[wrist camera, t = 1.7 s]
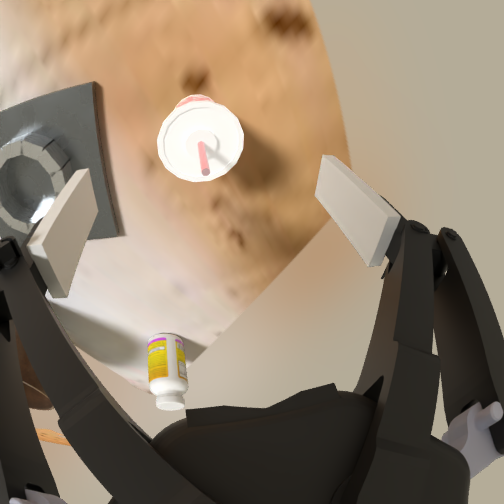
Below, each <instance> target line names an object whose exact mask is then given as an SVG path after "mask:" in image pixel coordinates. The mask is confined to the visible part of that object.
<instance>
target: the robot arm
mask: <svg viewBox="0 0 504 504" xmlns="http://www.w3.org/2000/svg"><path fill="white" fill-rule="evenodd" d="M315 197H316V198H317V199H318V200H319V202H320V203H321V204H322V205H323V207H324V208H325V209H326V211H327V212H328V213H329V214H330V216H331V217H332V218H333V220H334V221H335V222H336V223H337V225H338V226H339V228H340V229H341V230H342V231H343V233H344V234H345V235H346V237H347V238H348V240H349V241H350V242H351V244H352V245H353V246H354V248H355V249H356V251H357V252H358V253H359V255H360V256H361V258H362V259H363V260H364V262H365V263H366V265H367V266H368V267H373V266H380V265H381V264H382V261H383V259H384V257H385V255H386V256H387V258H388V259H389V263H388V265H387V267H386V269H385V271H384V273H383V276H382V277H381V279H383V278H384V277H385V278H384V284H383V289H382V294H381V299H380V304H379V308H378V313H377V317H376V321H375V325H374V329H373V334H372V337H371V341H370V345H369V348H368V352H367V355H366V359H365V362H364V366H363V369H362V372H361V375H360V378H359V381H358V384H357V386H356V388H355V389H354V391H353V392H348V391H337V389H336V386H335V384H334V383H331V384H327V385H324V386H320V387H316V388H312V389H308V390H305V391H301V392H299V393H297V394H295V395H293V396H291V397H289V398H287V399H285V400H283V401H281V402H279V403H277V404H275V405H273V406H270V407H268V408H247V407H234V406H216V407H208V408H198V409H187V410H186V418H184V419H182V420H179V421H177V422H175V423H172V424H171V425H169V426H168V427H166V428H164V429H163V430H162V431H161V432H159V433H158V434H157V435H156V436H155V437H154V438H153V439H152V438H150V437H149V436H148V435H147V434H146V433H145V432H144V431H143V430H142V429H141V428H140V427H139V426H138V425H137V424H136V423H135V422H134V421H133V420H132V419H131V418H130V416H129V415H128V414H127V413H126V412H125V411H124V410H123V409H122V408H121V406H120V405H119V404H118V403H117V402H116V401H115V399H114V398H113V397H112V396H111V395H110V393H109V392H108V391H107V390H106V388H105V387H104V386H103V385H102V384H101V382H100V381H99V379H98V378H97V377H96V376H95V374H94V373H93V371H92V370H91V369H90V367H89V366H88V365H87V363H86V362H85V360H84V359H83V358H82V356H81V355H80V353H79V352H78V350H77V349H76V347H75V346H74V344H73V343H72V341H71V340H70V338H69V336H68V335H67V333H66V332H65V330H64V328H63V327H62V325H61V323H60V322H59V320H58V318H57V317H56V315H55V313H54V311H53V310H52V308H51V306H50V304H49V302H48V301H47V299H46V297H45V294H46V291H47V289H48V291H49V292H50V294H51V296H52V298H67V297H68V293H69V290H70V287H71V283H72V280H73V277H74V274H75V271H76V268H77V265H78V262H79V259H80V256H81V254H82V251H83V248H84V246H85V243H86V240H87V238H88V235H89V233H90V230H91V228H92V225H93V223H94V220H95V218H96V216H97V213H98V208H97V204H96V199H95V195H94V191H93V186H92V182H91V177H90V172H89V168H87V169H81V170H77V171H76V172H75V173H74V175H73V176H72V177H71V179H70V180H69V181H68V183H67V184H66V185H65V187H64V188H63V189H62V191H61V192H60V194H59V195H58V196H57V198H56V199H55V201H54V202H53V204H52V205H51V207H50V208H49V210H48V211H47V213H46V214H45V216H44V217H41V218H40V219H39V220H38V221H37V222H36V223H35V224H34V226H33V227H32V229H31V232H29V234H28V236H27V238H26V239H25V241H24V242H23V244H22V246H21V248H20V247H19V245H18V243H17V241H16V238H15V237H14V236H7V237H4V238H2V239H1V240H0V504H67V503H66V502H65V501H64V500H63V499H61V498H60V495H59V493H58V490H57V487H56V484H55V481H54V478H53V476H52V473H51V471H50V468H49V465H48V463H47V460H46V458H45V455H44V453H43V450H42V448H41V445H40V442H39V439H38V436H37V433H36V430H35V427H34V424H33V420H32V417H31V414H30V410H29V406H28V402H27V398H26V394H25V390H24V385H23V381H22V376H21V370H20V365H19V358H18V352H17V344H16V336H15V327H16V330H17V332H18V335H19V337H20V340H21V342H22V345H23V347H24V349H25V352H26V354H27V356H28V358H29V361H30V363H31V365H32V367H33V369H34V371H35V373H36V375H37V377H38V379H39V381H40V383H41V385H42V387H43V389H44V391H45V392H46V394H47V396H48V398H49V400H50V401H51V403H52V405H53V406H54V408H55V410H56V411H57V413H58V415H59V418H60V419H59V420H58V425H59V427H60V429H61V430H62V432H63V434H64V436H65V437H66V439H67V440H68V442H69V443H70V444H71V446H72V447H73V448H74V450H75V451H76V453H77V454H78V456H79V457H80V458H81V460H82V461H83V462H84V463H85V465H86V466H87V467H88V469H89V470H90V471H91V472H92V473H93V475H94V476H95V477H96V478H97V479H98V480H99V482H100V483H101V484H102V485H103V486H104V487H105V489H106V490H107V491H108V492H109V493H110V494H111V495H112V496H113V497H112V499H111V500H110V502H109V503H108V504H468V495H469V486H470V479H471V478H473V477H474V476H475V475H477V474H478V473H479V472H480V471H482V470H483V469H484V468H486V467H487V466H488V465H490V464H491V463H492V462H493V461H494V460H496V459H498V458H500V457H502V456H504V338H503V335H502V332H501V329H500V326H499V323H498V320H497V317H496V314H495V312H494V309H493V306H492V304H491V301H490V299H489V296H488V293H487V291H486V289H485V287H484V284H483V282H482V279H481V278H480V275H479V273H478V271H477V268H476V267H475V264H474V262H473V260H472V258H471V256H470V254H469V252H468V250H467V248H466V246H465V244H464V242H463V241H462V239H461V237H460V236H459V235H458V234H457V233H456V231H453V229H449V228H445V227H443V228H441V230H440V232H439V234H438V235H433V234H430V232H429V230H428V229H427V227H425V226H424V225H423V224H421V223H419V222H417V221H414V220H408V221H407V220H406V219H405V218H404V217H403V216H402V215H401V214H400V213H399V212H398V211H397V210H396V209H394V207H393V206H392V205H391V204H389V202H388V201H387V200H386V199H385V198H383V197H382V196H380V195H379V194H377V193H376V192H375V191H374V190H373V189H372V188H371V187H370V186H369V185H367V184H366V183H365V182H364V181H363V180H362V179H361V178H360V177H359V176H357V175H356V174H355V173H354V172H353V171H352V170H351V169H349V168H348V167H347V166H346V165H345V164H343V163H342V162H341V161H340V160H339V159H337V158H336V157H335V156H333V155H322V160H321V165H320V171H319V176H318V181H317V187H316V192H315ZM446 271H447V273H446V275H445V272H446ZM14 324H15V325H14ZM433 328H434V333H435V339H436V345H437V351H438V356H437V355H434V354H432V343H433ZM440 372H441V381H442V389H443V390H442V391H443V401H444V410H445V414H446V420H447V424H448V431H447V432H446V433H444V434H443V436H442V441H441V440H439V439H437V438H436V437H434V436H432V435H431V431H432V426H433V420H434V414H435V409H436V402H437V395H438V387H439V378H440Z"/></svg>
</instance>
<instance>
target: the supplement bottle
mask: <svg viewBox="0 0 504 504" xmlns="http://www.w3.org/2000/svg"><path fill="white" fill-rule="evenodd" d="M148 373H149V388H150V390H151V392H152V393H153V394H155V395H157V398H156V406H157V407H158V408H159V409H162V410H179V409H182V408H184V407H185V403H184V399H183V397H182V395H183V394H185V393H186V391H187V390H188V380H187V372H186V363H185V354H184V345H183V341H182V340H181V339H180V338H179V337H178V336H176V335H173V334H166V333H163V334H157V335H154V336H153V337H151V338H150V339H149V341H148Z"/></svg>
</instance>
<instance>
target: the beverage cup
mask: <svg viewBox="0 0 504 504" xmlns="http://www.w3.org/2000/svg"><path fill="white" fill-rule="evenodd" d="M243 141H244V133H243V130H242V128H241V125H240V123H239V120H238V118H237V117H236V116H235V115H234V114H232V113H231V112H230V111H229V110H228V109H227V108H226V107H225V106H223V105H220V104H218V103H215V102H214V101H213V100H212V99H211V98H209V97H207V96H204V95H190V96H188V97H186V98H184V99H182V100H181V101H180V102H179V103H178V104H177V106H176V107H175V109H174V111H173V112H172V113H171V114H170V115H169V116H168V117H167V118H166V119H165V120H164V122H163V124H162V127H161V130H160V132H159V135H158V138H157V144H158V154H159V157H160V159H161V160H162V162H163V164H164V166H165V167H166V169H167V170H169V171H170V172H172V173H173V174H174V175H176V176H177V177H178V178H181V179H185V180H188V181H192V182H200V181H210V180H213V179H215V178H217V177H219V176H222V175H224V174H225V173H227V172H228V171H229V170H230V169H231V168H232V167H233V166H234V165H235V164H236V163H237V161H238V159H239V157H240V154H241V152H242V150H243Z"/></svg>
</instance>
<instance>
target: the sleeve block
mask: <svg viewBox="0 0 504 504" xmlns="http://www.w3.org/2000/svg"><path fill="white" fill-rule="evenodd" d="M87 168H89V172H90V177H91V182H92V186H93V191H94V195H95V199H96V204H97V208H98V213H97V216H96V218H95V220H94V223H93V225H92V228H91V230H90V233H89V235H88V238H87V240H91V239H100V238H109V237H118V233H119V230H118V226H117V222H116V218H115V214H114V210H113V205H112V201H111V196H110V191H109V186H108V181H107V176H106V171H105V165H104V159H103V153H102V146H101V139H100V132H99V124H98V115H97V104H96V92H95V81H94V82H89V83H85V84H81V85H77V86H73V87H69V88H66V89H62V90H59V91H55V92H52V93H49V94H46V95H43V96H40V97H37V98H34V99H31V100H28V101H26V102H23V103H20V104H18V105H15V106H13V107H10V108H8V109H5V110H3V111H1V112H0V237H1V239H2V238H4V237H7V236H14V237H15V238H16V241H17V243H18V245H19V247H20V248H21V246H22V244H23V242H24V241H25V239H26V238H27V236H28V234H29V232H31V229H32V227H33V226H34V224H35V223H36V222H37V221H38V220H39V219H40V218H41V217H44V216H45V214H46V213H47V211H48V210H49V208H50V207H51V205H52V204H53V202H54V201H55V199H56V198H57V196H58V195H59V194H60V192H61V191H62V189H63V188H64V187H65V185H66V184H67V183H68V181H69V180H70V179H71V177H72V176H73V175H74V173H75V172H76V171H77V170H81V169H87Z"/></svg>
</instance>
